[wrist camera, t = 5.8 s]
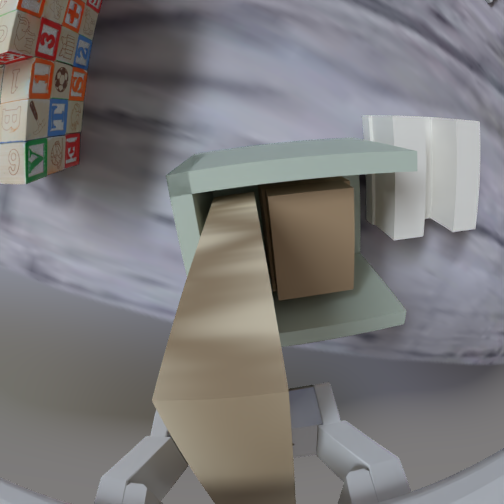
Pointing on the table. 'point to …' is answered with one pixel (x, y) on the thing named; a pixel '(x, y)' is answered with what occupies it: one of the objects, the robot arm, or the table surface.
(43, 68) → the stack of blocks
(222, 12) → the table surface
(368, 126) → the holder
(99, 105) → the table surface
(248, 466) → the rectangular block
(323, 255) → the rack
